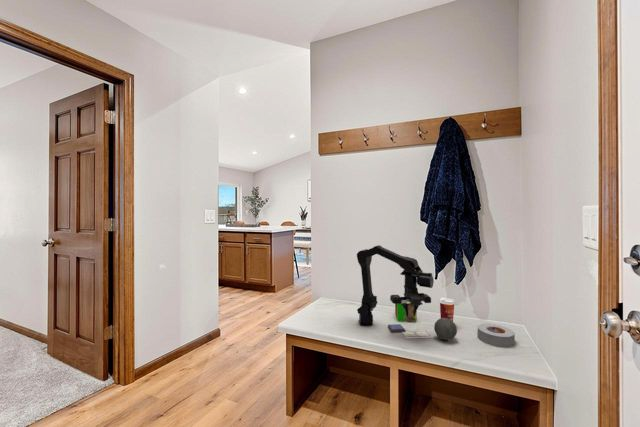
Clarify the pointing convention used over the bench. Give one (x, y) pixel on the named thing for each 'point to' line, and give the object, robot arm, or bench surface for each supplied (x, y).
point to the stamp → (410, 314)
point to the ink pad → (396, 328)
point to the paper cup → (447, 308)
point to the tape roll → (496, 335)
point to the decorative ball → (445, 329)
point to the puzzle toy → (402, 313)
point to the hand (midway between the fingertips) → (410, 316)
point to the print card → (416, 334)
